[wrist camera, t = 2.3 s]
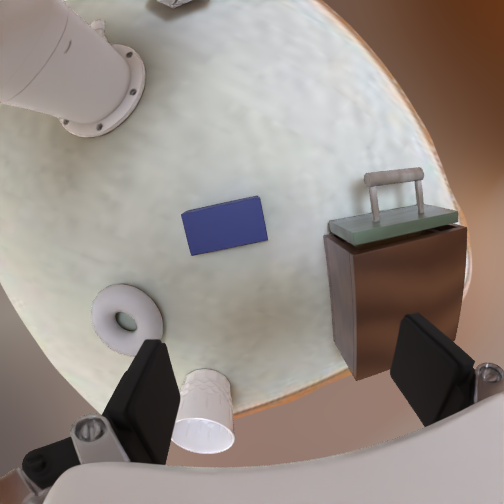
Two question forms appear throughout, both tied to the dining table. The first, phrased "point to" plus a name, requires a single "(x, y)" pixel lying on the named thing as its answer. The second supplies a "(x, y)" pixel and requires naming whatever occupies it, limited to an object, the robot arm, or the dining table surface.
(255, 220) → the tall navy block
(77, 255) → the dining table surface
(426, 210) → the drawer
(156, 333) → the donut
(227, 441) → the white cup
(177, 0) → the die
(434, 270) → the cabinet
